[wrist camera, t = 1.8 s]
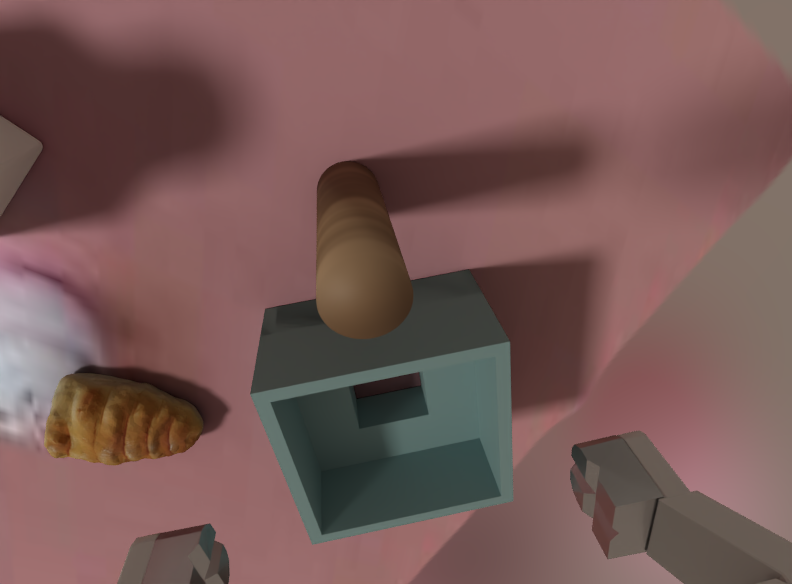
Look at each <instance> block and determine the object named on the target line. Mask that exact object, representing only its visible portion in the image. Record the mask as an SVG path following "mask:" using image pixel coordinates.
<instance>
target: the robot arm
mask: <svg viewBox="0 0 792 584" xmlns="http://www.w3.org/2000/svg"><path fill="white" fill-rule="evenodd" d="M572 458H573V459H574V461H575V464H574V465H573V467H572V468H571V471H570V480H571V484H572V489H573V492H574V495H575V497H576V500H577V502H578V504H579V506H580V508H581V510H582V511H583V512H584V513H586V514H587V515H589V516H590V517H592V518H593V525H592V531H593V533H594V535H595V536H596V539H597V540H598V542H599V544H600V546H601V548H602V550H603V551H604V554H605V555H606V557H607V559H611V558H617V557H621V556H627V555H632V554H637V553H642V552H647V555H648V556H650V557H651V558H652V559H653V560H655V561H656V562H657V563H659V564H660V565H661V566H662V567H664V568H665V569H666V570H667V571H669V572H670V573H671V574H672V575H674V576H675V577H676V578H677V579H679V580H680V581H681V582H683V583H684V584H792V543H791V542H789V541H788V540H786V539H784V538H782V537H780V536H779V535H777V534H775V533H773V532H771V531H770V530H768V529H766V528H764V527H762V526H760V525H759V524H756V523H755V522H753V521H751V520H749V519H748V518H746V517H744V516H742V515H740V514H738V513H737V512H735V511H733V510H731V509H729V508H728V507H726V506H724V505H722V504H720V503H719V502H716V501H715V500H713V499H711V498H709V497H708V496H706V495H704V494H702V493H700V492H699V491H693V492H690V491H689V489H688V488H687V487H686V486H685V484H684V483H683V482H682V481H681V479H680V478H679V477H678V475H677V474H676V473H675V472H674V471H673V469H672V468H671V466H670V465H669V464H668V463H667V461H666V460H665V459H664V458H663V457H662V455H661V454H660V452H659V451H658V450H657V448H656V447H655V446H654V445H653V443H652V442H651V441H650V440H649V438H648V437H647V436H646V434H644V433H643V432H641V431H634V432H630V433H625V434H622V435H617V436H616V435H613V436H609V437H605V438H600V439H596V440H592V441H587V442H583V443H579V444H575V445H574V446H573V448H572ZM215 534H216V532H215V530H214V529H213V527H212V526H211V524H205V525H200V526H194V527H189V528H184V529H179V530H174V531H169V532H163V533H158V534H153V535H148V536H144V537H139V538H136V540H135V541H134V542H133V544H132V545H131V547H130V549H129V552H128V555H127V557H126V560H125V563H124V566H123V569H122V571H121V574H120V577H119V580H118V583H117V584H228V583H229V576H230V574H229V558H228V555H227V551H226V549H225V547H224V545H223V544H221V543H219V542H217V541H214V539H215Z"/></svg>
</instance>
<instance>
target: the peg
mask: <svg viewBox="0 0 792 584" xmlns="http://www.w3.org/2000/svg"><path fill="white" fill-rule="evenodd" d="M412 303H413V288H412V284H411V281H410V278H409V275H408V272H407V269H406V266H405V263H404V260H403V257H402V254H401V251H400V248H399V245H398V242H397V239H396V236H395V233H394V230H393V227H392V224H391V221H390V218H389V215H388V212H387V209H386V206H385V203H384V200H383V197H382V194H381V191H380V188H379V185H378V182H377V180H376V178H375V176H374V174H373V173H372V172H371V171H370V170H369V169H368V168H367V167H365V166H364V165H362V164H360V163H356V162H351V161H345V162H339V163H336V164H334V165H332V166H330V167H329V168H328V169H327V170H326V171H325V172H324V173H323V174H322V176H321V177H320V179H319V182H318V186H317V257H316V304H317V309H318V312H319V315H320V317H321V318H322V320H323V321H324V323H325V324H326V325H327V326H328V327H329V328H331V329H332V330H333V331H335V332H336V333H338V334H340V335H343V336H345V337H349V338H354V339H371V338H376V337H380V336H382V335H385V334H387V333H389V332H391V331H392V330H394V329H395V328H397V327H398V326H399V325H400V324H401V323H402V322H403V321H404V320H405V318H406V317H407V316H408V314H409V312H410V310H411V307H412Z"/></svg>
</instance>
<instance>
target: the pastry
mask: <svg viewBox="0 0 792 584" xmlns="http://www.w3.org/2000/svg"><path fill="white" fill-rule="evenodd" d="M202 429H203V420H202V418H201V416H200V414H199V412H198V411H197V409H196V408H195V406H193V405H192V404H191V403H189V402H188V401H186V400H183V399H179V398H176V397H173V396H171V395H169V394H168V393H166V392H164V391H161V390H159V389H158V388H157V387H155V386H153V385H151V384H149V383H146V382H143V383H138V382H135V381H131V380H125V379H121V378H117V377H113V376H107V375H101V374H94V373H76V374H70V375H66V376H65V377H63V378H62V379H61V380H60V382H59V384H58V386H57V388H56V390H55V393H54V397H53V399H52V408H51V412H50V415H49V417H48V420H47V423H46V431H45V440H44V446H45V447H46V448H47V449H48V452H49V453H50V455H51V456H52V457H54V458H59V457H60V458H64V457H72V458H75V459H83V460H86V461H89V462H93V463H96V462H100V463H104V464H107V465H119V464H121V463H124V462H129V461H138V460H140V459H144V458H150V459H157V458H161V457H165V456H172V455H174V454H177V453H183V452H185V451H186V450H188V449H189V448H190V447H192V446H193V445H194V444H195V442H196V441H197V440H198V439H199V437H200V435H201V433H202Z"/></svg>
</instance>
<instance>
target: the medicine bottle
mask: <svg viewBox="0 0 792 584" xmlns="http://www.w3.org/2000/svg"><path fill="white" fill-rule="evenodd" d="M42 148H43V146H42V143H41V142H40V141H39V140H37V139H36V138H34V137H33V136H31V135H30V134H28V133H27V132H25V131H24V130H22V129H21V128H19V127H17V126H16V125H14V124H13V123H11V122H10V121H8V120H7V119H5V118H4V117H2V116H1V115H0V217H1V215H2V214H3V212H4V210H5V209H6V207H7V206H8V204H9V202H10V201H11V199H12V198H13V196H14V194H15V193H16V191H17V189H18V188H19V186H20V185H21V183H22V181H23V180H24V178H25V177H26V175H27V173H28V172H29V170H30V169H31V167H32V165H33V164H34V162H35V161H36V159H37V157H38V156H39V154H40V153H41V151H42Z"/></svg>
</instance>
